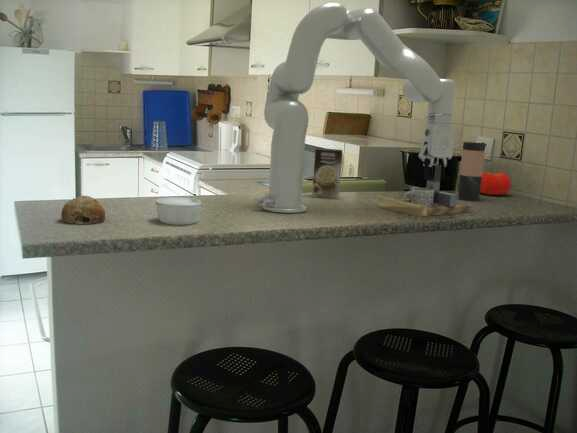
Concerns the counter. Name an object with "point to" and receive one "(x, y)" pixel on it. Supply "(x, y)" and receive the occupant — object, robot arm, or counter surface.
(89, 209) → the bread roll
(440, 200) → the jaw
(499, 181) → the tomato
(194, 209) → the ramekin
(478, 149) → the travel mug
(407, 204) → the wooden tray
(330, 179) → the coffee box
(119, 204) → the counter surface
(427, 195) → the mug
